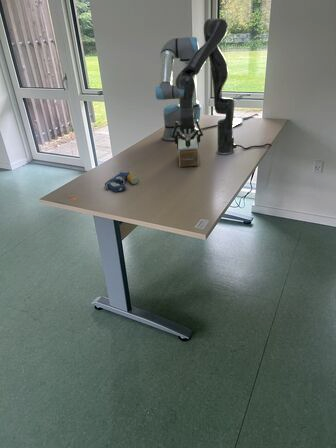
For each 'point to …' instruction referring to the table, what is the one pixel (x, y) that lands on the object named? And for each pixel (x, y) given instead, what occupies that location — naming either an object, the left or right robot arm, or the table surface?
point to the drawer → (188, 157)
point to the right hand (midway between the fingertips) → (188, 146)
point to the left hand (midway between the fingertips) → (187, 147)
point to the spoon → (236, 121)
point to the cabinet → (187, 147)
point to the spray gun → (120, 181)
